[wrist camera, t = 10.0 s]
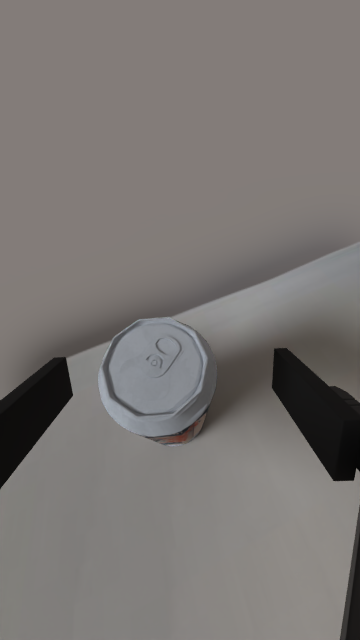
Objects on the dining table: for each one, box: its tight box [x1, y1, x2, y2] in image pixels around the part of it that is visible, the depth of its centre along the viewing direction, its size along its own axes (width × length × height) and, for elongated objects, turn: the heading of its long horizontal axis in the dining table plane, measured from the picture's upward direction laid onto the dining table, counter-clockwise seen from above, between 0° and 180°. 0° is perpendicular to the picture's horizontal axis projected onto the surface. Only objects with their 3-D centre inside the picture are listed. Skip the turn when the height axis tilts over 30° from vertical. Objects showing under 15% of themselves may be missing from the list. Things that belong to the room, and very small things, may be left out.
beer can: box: [98, 317, 217, 446], centre depth 14 cm, size 5×5×12 cm
